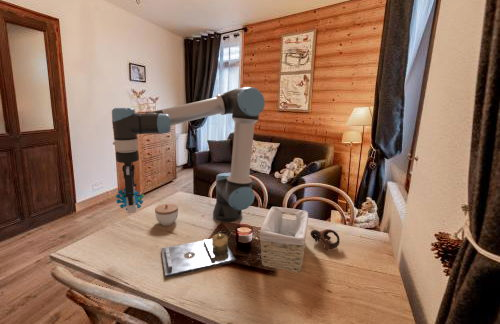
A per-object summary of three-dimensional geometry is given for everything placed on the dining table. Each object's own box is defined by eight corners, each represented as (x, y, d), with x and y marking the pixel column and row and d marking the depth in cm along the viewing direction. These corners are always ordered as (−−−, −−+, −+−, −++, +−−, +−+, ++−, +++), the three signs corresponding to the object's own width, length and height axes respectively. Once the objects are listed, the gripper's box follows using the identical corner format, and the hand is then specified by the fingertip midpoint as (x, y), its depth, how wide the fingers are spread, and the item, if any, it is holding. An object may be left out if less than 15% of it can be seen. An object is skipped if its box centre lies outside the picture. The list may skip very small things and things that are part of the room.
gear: (122, 211, 89) (113, 188, 92) (116, 219, 92) (107, 197, 95) (150, 206, 98) (140, 185, 101) (143, 213, 101) (134, 192, 104)
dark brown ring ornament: (335, 241, 110) (342, 231, 104) (333, 260, 103) (340, 250, 98) (309, 230, 112) (314, 220, 107) (305, 248, 106) (310, 238, 100)
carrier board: (222, 239, 108) (222, 223, 106) (235, 261, 93) (235, 244, 91) (161, 251, 98) (160, 234, 97) (165, 278, 83) (164, 258, 82)
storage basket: (302, 277, 86) (305, 238, 82) (256, 267, 90) (258, 230, 87) (306, 241, 108) (309, 210, 105) (270, 235, 112) (271, 205, 109)
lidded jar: (183, 221, 124) (182, 203, 122) (165, 230, 115) (164, 211, 113) (168, 215, 129) (167, 198, 127) (151, 223, 120) (149, 205, 118)
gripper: (117, 146, 100) (123, 198, 105) (112, 157, 80) (119, 221, 85) (138, 145, 103) (142, 196, 108) (137, 155, 83) (142, 217, 88)
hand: (132, 207), depth 97 cm, fingers closed on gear, 9 cm apart
